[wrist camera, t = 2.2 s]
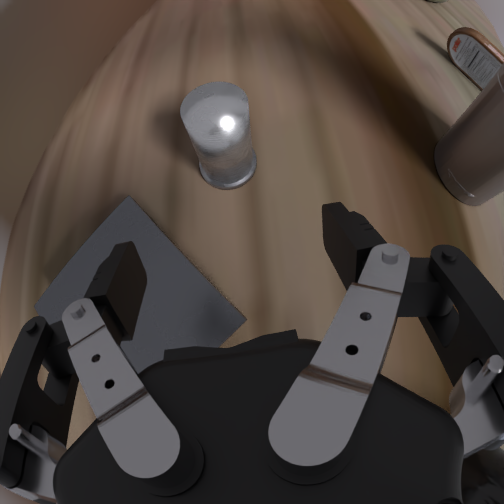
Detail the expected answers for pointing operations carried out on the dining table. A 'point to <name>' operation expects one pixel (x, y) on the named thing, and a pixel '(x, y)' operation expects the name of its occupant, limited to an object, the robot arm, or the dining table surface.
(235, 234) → the dining table surface
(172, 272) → the stand
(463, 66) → the tin
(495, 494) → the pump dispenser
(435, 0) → the fruit
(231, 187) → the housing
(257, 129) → the dining table surface
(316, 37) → the dining table surface
